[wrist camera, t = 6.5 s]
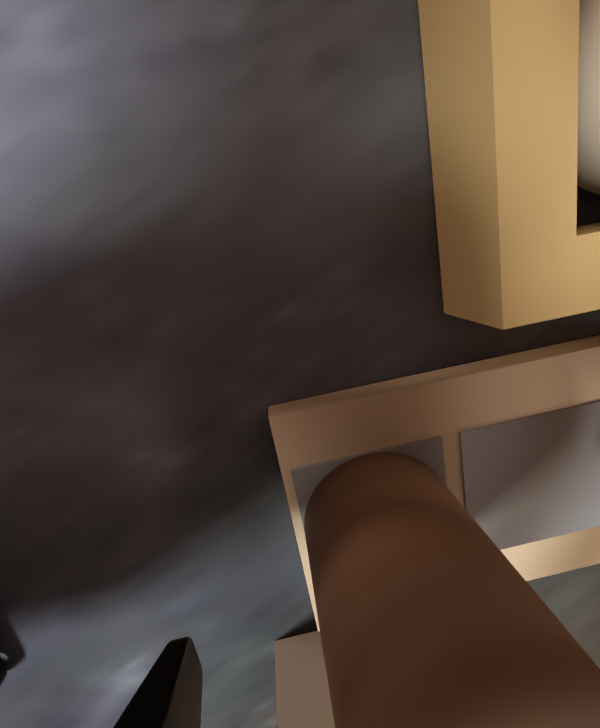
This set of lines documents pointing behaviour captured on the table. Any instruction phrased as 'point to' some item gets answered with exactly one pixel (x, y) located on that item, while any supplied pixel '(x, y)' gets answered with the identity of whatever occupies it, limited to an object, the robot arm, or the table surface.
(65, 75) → the table surface
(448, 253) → the box
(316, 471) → the makeup compact
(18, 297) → the table surface
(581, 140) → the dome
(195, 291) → the table surface
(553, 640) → the brown capsule
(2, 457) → the table surface
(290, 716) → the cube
